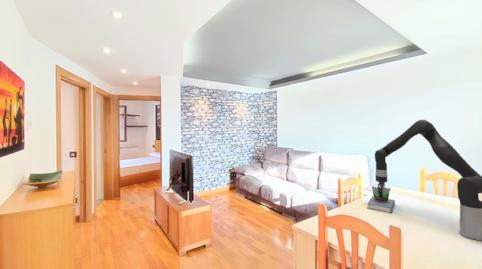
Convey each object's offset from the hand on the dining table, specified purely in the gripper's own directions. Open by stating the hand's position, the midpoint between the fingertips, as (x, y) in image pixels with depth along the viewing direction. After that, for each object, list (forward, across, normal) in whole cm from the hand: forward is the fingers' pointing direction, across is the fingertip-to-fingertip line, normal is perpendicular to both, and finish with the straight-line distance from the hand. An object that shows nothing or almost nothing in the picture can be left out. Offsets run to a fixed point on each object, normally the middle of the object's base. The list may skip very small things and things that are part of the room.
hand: (381, 197), depth 162 cm
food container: (+3, -1, 0) cm, 3 cm away
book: (+8, 0, 0) cm, 8 cm away
